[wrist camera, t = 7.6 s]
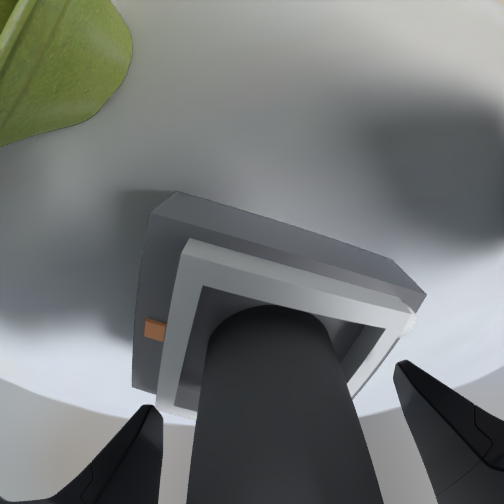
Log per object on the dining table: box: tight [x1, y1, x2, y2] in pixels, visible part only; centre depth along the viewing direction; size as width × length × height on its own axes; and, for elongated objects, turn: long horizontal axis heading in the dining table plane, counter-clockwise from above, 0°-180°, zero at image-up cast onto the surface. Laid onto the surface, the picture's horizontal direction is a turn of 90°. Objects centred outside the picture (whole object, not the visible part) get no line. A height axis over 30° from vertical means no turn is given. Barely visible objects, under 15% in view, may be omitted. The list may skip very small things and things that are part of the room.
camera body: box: [132, 192, 427, 420], centre depth 12 cm, size 11×9×5 cm
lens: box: [186, 305, 384, 504], centre depth 7 cm, size 5×5×8 cm
